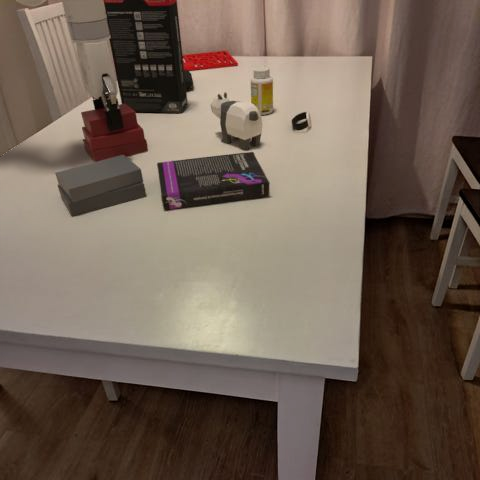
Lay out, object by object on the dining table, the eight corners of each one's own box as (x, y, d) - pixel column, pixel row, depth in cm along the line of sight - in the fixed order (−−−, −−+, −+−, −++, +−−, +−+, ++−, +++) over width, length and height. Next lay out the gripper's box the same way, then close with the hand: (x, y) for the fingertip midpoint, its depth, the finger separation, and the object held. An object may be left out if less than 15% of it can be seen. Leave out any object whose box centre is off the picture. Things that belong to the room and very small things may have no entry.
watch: (309, 133, 108) (310, 116, 105) (289, 132, 108) (289, 116, 106) (312, 121, 113) (313, 106, 111) (293, 121, 114) (293, 105, 112)
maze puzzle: (237, 65, 158) (237, 62, 157) (179, 71, 155) (179, 69, 155) (226, 52, 173) (226, 50, 172) (173, 58, 170) (172, 56, 169)
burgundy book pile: (96, 163, 100) (90, 140, 97) (85, 149, 106) (79, 127, 103) (149, 151, 104) (145, 128, 101) (135, 138, 110) (131, 116, 107)
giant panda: (265, 145, 103) (265, 99, 97) (247, 152, 101) (245, 106, 94) (223, 129, 112) (220, 87, 106) (205, 136, 109) (201, 92, 103)
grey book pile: (72, 216, 82) (63, 190, 79) (60, 196, 89) (52, 171, 86) (147, 196, 87) (142, 170, 84) (131, 178, 94) (126, 153, 90)
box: (163, 213, 83) (270, 197, 85) (160, 195, 81) (270, 179, 82) (159, 179, 93) (255, 165, 95) (156, 162, 91) (254, 148, 92)
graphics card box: (190, 106, 127) (176, -17, 109) (183, 114, 122) (168, -13, 104) (131, 105, 130) (108, -14, 112) (122, 113, 125) (96, -10, 107)
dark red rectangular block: (93, 137, 98) (89, 121, 96) (85, 128, 103) (80, 112, 100) (138, 127, 101) (135, 111, 99) (128, 119, 106) (125, 103, 104)
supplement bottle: (275, 109, 122) (275, 66, 115) (269, 116, 118) (269, 71, 111) (255, 108, 123) (254, 65, 116) (248, 115, 119) (247, 71, 112)
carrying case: (158, 81, 147) (158, 94, 136) (156, 70, 145) (156, 83, 134) (191, 78, 148) (194, 91, 137) (190, 67, 146) (193, 80, 135)
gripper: (60, 27, 94) (83, 116, 106) (81, 40, 83) (104, 139, 94) (96, 22, 97) (115, 109, 108) (121, 34, 85) (139, 131, 97)
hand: (110, 123), depth 101 cm, fingers open, 8 cm apart
